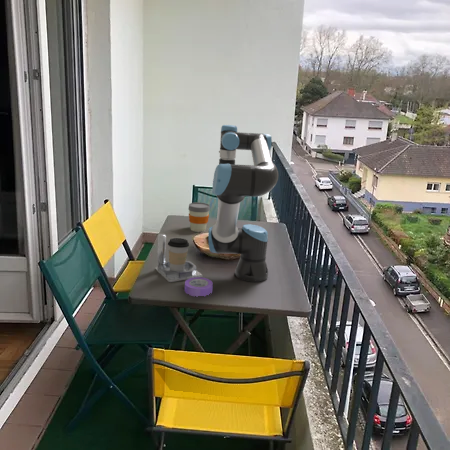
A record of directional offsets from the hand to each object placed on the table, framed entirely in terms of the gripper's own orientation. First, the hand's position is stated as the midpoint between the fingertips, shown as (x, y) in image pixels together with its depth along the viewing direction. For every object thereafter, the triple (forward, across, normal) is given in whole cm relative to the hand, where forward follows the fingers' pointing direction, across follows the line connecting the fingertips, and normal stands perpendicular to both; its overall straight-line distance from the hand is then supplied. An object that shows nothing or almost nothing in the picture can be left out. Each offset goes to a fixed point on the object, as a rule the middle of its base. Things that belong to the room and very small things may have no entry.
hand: (224, 202), depth 223 cm
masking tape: (+29, +41, +1) cm, 50 cm away
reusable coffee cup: (+29, -39, -25) cm, 54 cm away
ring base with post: (+29, +27, -13) cm, 41 cm away
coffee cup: (+28, +30, -13) cm, 42 cm away
